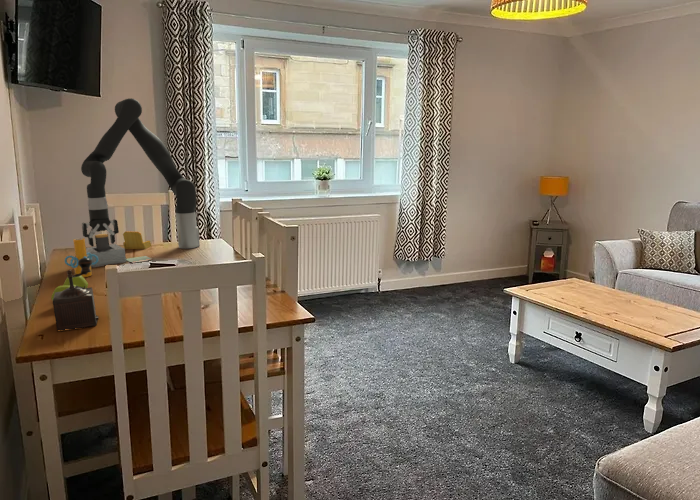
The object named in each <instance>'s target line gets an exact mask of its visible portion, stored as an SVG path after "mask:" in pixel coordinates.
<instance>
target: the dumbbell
mask: <svg viewBox="0 0 700 500" xmlns="http://www.w3.org/2000/svg"><path fill="white" fill-rule="evenodd" d="M72 280H73V285H74V287H75V286H78V287H83V288H84V286H85V288H89V287H88V286H89V283H88V281H87V280H86V279H85V278H83V277H82V276H79V277H73V278H72ZM69 287H70V282H69V278H68V276H67V277H66V279H65V281H64V283H63V285H58V286H57V287H56V288H55V289H54V290H53V292H52V294H51V297H50V298H51V301H52V302H53V298H54V295H55V292H61V291H63V290H65V289H67V288H69Z"/></svg>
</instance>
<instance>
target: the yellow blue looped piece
mask: <svg viewBox="0 0 700 500" xmlns="http://www.w3.org/2000/svg"><path fill="white" fill-rule="evenodd" d="M85 238H86V237H80V238H79V237H77V238H74V239H72V241H73V248H74V256H73V255H68V256H65V258H64V264H65V265H66V266H68V267H71V268H73V269H74V275H75V274H80V273H81V270H82V268H81V267H80V266H79V265H78V261H79V260H80V259H82V258H90V259H91V260H92V256H94V257H95V258H96V262H94V263H92V264H91V265H94V264H96V263H97V262H98V257H97V256H96V255H94V254H91V253H89V252H88V253H86V248H87V247H86V241H85V240H86V239H85ZM88 254H89V256H88V257H87V255H88ZM69 258H71V259H70V262H68V259H69ZM90 270H91V272H89V273H87V274H86V275H85V274H83V275H81V276H82V277H83V278H84V279H85V278H89V277H92V276H93V272H92V271H93V270H92V267H91V266H90Z"/></svg>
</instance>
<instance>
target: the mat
mask: <svg viewBox="0 0 700 500" xmlns="http://www.w3.org/2000/svg"><path fill="white" fill-rule="evenodd" d="M146 259H152V258H151V257H150V256H146V255H143V256H137V257H129V258H126V262H128V263H130V262H133V261H139V260H146Z"/></svg>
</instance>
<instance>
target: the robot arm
mask: <svg viewBox="0 0 700 500" xmlns="http://www.w3.org/2000/svg"><path fill="white" fill-rule="evenodd" d="M114 112H115V115H116V119H115V121H114V122H113V124H111V126H110V127H109V128H108V130H107V131H106V132H105V133H104V134H103V135H102V137H101V138H100V140H99V142H98V143H97V144H96V147H95V148H94V149H93V150H92V152H90V154H89V155H88V156H87V157H85V159H84V160H83V162H82V164H81V167H80V170H81V173H82V175H84V176H85V177H86V178H90V182H89V183H88V184H87V185H86V195H87V207H88V215H89V216H88V217H89V221H88V222H82V223H81V229H82V236H83V238H87V239H88V244H89V246H90V247H95V245H94V238H93V237H94V236H95V235H96V232H105V231H106V232H108V233H109V240H110V243H111V244H115V242H116V236H115V235H116V234H119V232H120V231H119V226H118V225H119V224H118V220H117V219H115V218H114V219H111V220H110V217H109V216H110V215H109V205H108V201H107V196H106V187H105V186H106V180H107V169H106V168H107V167H106V165H105V164H104V163H105V162H107V161H110V160H111V158H112V157H113V155H114V153H115V152H116V150H117V148H118V147H119V145H120V144H121V142H122V140H123V138H124V137H125V135H126V134H127V132H128V131H129V132H130V134H131V135H132V137H133V138H134V140H135V141H136V142H137V143H138V145H139V146H140V147H141V149H142V150H143V152H144V153H145V155H146V156H147V157H148V159H149V160H150V161H151V163H152V164H153V165H154V167H155V168H156V169H157V170H158V171H159V173H160V175H162V176H163V178H164V179H165V181H166V182H167V185H168V186H169V188H170V190H171V191H172V193H173V194H174V196H176V205H175V208H174V209H175V219H176V230H177V232H176V233H177V240H178V241H177V244H178V249H183V250H185V249H186V250H187V249H188V250H189V249H195V248H198V247H200V246H201V243H200V233H199V227H198V226H197V216H196V213H197V212H196V206H197V196H196V195H197V192H196V186H195V183H193V182H192V181H191V180H190V179H186V178H185V177H184V176H183V175H182V174H181V172H180V170H178V169H177V167H176V165H175V163H174V160H173V157H172V155H171V153H170V151H169V149H168V148H167V147H166V145H165V143H164V142H163V141H162V140H161V138H159V137H158V136H157V135H156V134H155V133H153V132H152V131H151V130H150V129H148V128H147V127H146V126H145V124H144V123H143V122H142V120H141V119H140V116H142V113H143V107H142V105H141V103H140V102H139V100H137V99H134V98H125V99H123V100H121V101H119V102H117V103H116V104H115V106H114ZM110 225H112V226H113V230H112V229H111V228H110ZM89 226H90V227H91V228H90V230H89V232H88V228H89Z"/></svg>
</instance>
